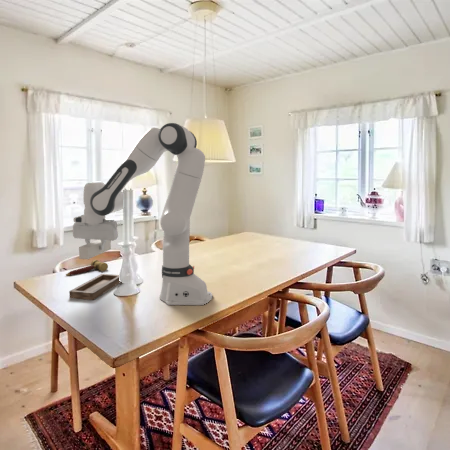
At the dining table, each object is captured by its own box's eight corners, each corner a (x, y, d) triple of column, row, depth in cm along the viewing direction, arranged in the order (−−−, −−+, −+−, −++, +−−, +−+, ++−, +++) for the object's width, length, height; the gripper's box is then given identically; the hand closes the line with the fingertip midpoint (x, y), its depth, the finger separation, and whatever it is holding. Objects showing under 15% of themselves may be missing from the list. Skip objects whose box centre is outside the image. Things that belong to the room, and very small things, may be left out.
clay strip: (110, 249, 169) (110, 238, 169) (88, 259, 150) (87, 247, 149) (103, 248, 170) (102, 238, 169) (79, 258, 151) (79, 247, 150)
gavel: (69, 272, 177) (60, 269, 184) (71, 281, 178) (61, 277, 185) (107, 262, 193) (97, 258, 199) (108, 270, 194) (98, 266, 200)
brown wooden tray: (122, 281, 174) (122, 275, 174) (93, 300, 149) (93, 293, 148) (102, 279, 176) (101, 273, 176) (69, 298, 151) (69, 291, 151)
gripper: (120, 218, 159) (120, 249, 161) (78, 216, 162) (79, 246, 165) (113, 220, 153) (113, 252, 155) (70, 218, 156) (71, 249, 158)
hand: (95, 249), depth 160 cm, fingers closed on clay strip, 4 cm apart
